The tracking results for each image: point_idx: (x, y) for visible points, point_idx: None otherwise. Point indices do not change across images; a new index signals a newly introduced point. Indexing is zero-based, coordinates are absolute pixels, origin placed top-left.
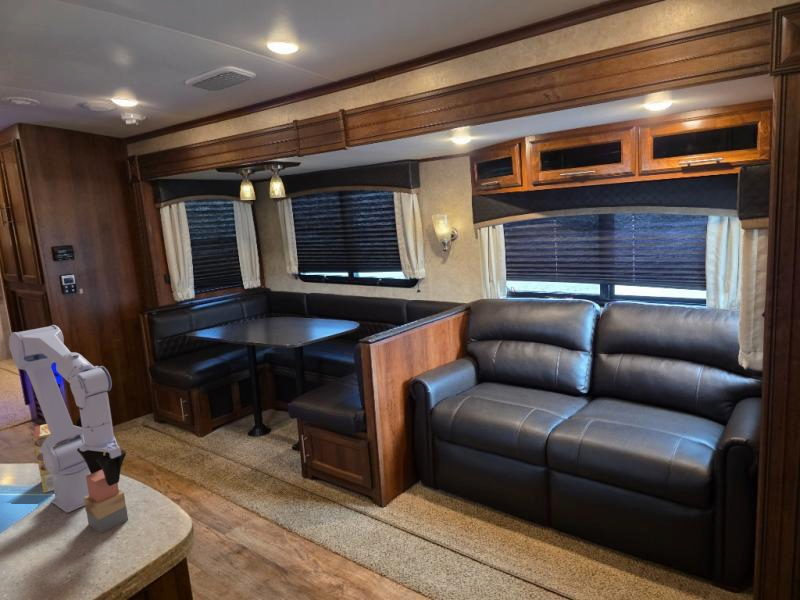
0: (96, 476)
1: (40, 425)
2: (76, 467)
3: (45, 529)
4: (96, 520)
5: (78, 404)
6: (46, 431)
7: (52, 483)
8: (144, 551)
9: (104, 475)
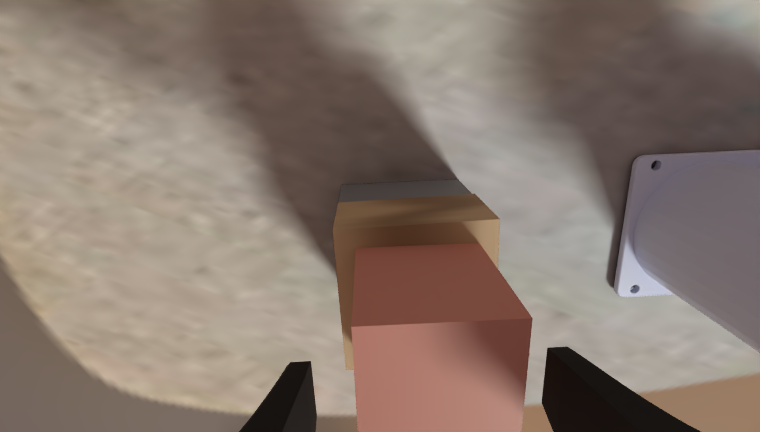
0: (438, 364)
1: None
2: None
3: (598, 42)
4: (368, 197)
5: None
6: None
7: None
8: (66, 237)
9: (287, 416)
